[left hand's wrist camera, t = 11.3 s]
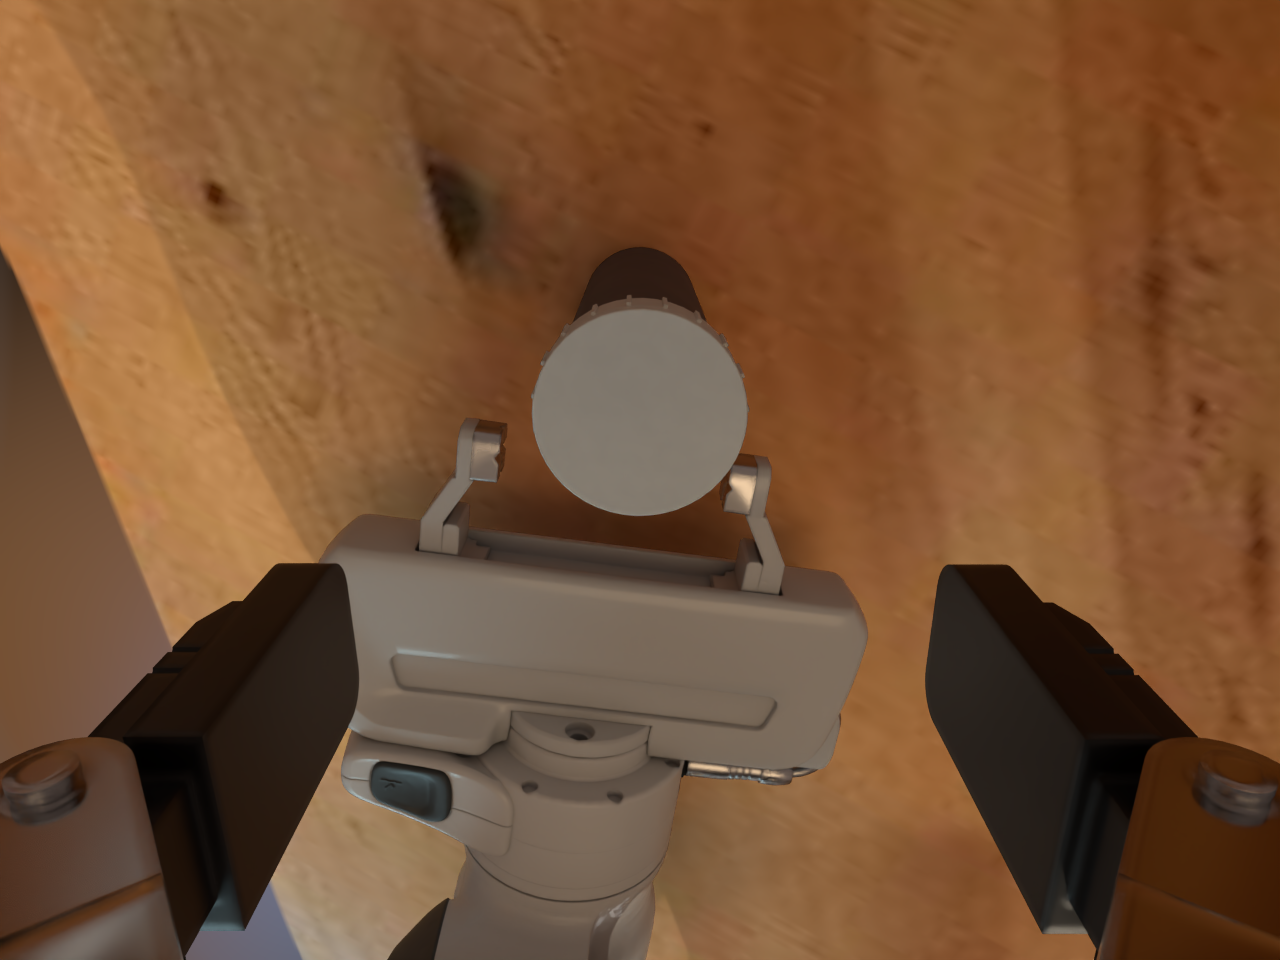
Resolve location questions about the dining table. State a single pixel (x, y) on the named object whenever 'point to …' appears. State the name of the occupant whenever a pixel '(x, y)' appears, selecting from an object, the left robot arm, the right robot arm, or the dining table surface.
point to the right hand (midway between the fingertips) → (617, 441)
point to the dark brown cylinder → (639, 280)
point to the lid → (639, 407)
